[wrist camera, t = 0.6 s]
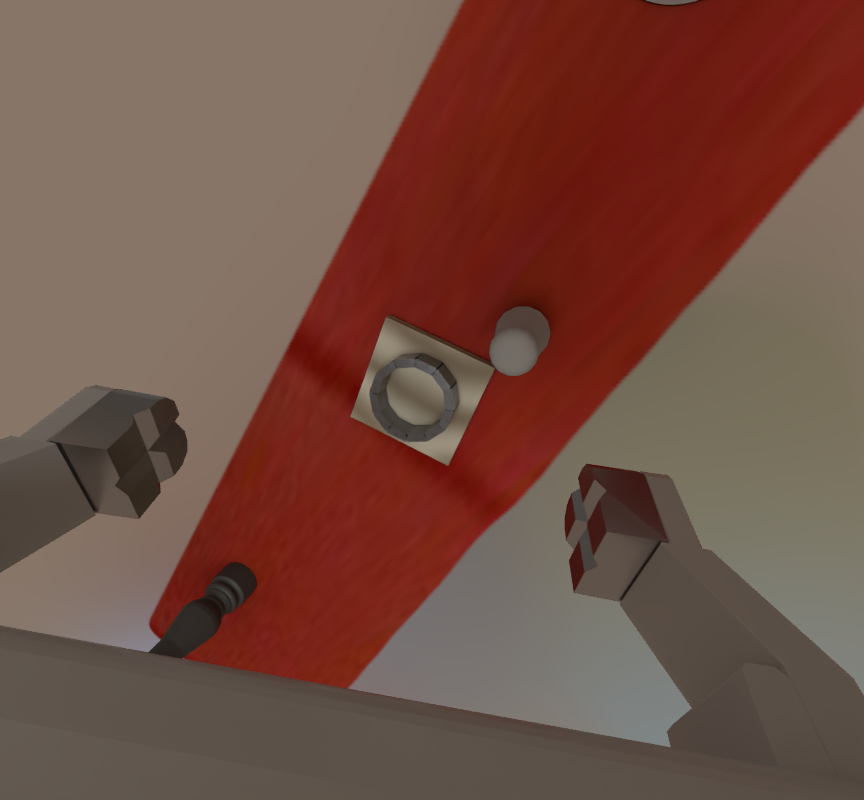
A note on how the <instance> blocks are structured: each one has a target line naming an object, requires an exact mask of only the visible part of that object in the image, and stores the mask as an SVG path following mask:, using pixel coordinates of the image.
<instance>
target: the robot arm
mask: <svg viewBox="0 0 864 800" xmlns="http://www.w3.org/2000/svg"><path fill="white" fill-rule="evenodd" d="M647 1H650V2H653V3H658V4H665V5H676V4H685V3H690V2H694V1H697V0H647ZM178 416H179V412H178V409H177V407H176V404H175V402H174V401H173V400H171V399H169V398H166V397H161V396H155V395H150V394H144V393H138V392H133V391H128V390H122V389H113V388H108V387H103V386H98V385H95V386H90V387H85V388H84V389H83V390H81V391H80V392H79V393H77V394H76V395H75V396H73V397H72V398H71V399H69V400H68V401H67V402H65V403H64V404H63V405H61V406H60V407H59V408H57V409H56V410H55V411H53V412H52V413H51V414H49V415H48V416H47V417H45V418H44V419H43V420H41V421H40V422H39V423H38V424H36V425H35V426H33V427H32V428H31V429H29V430H28V431H27V432H26V433H24V434H23V435H21V436H20V437H15V436H9V437H6V438H3V439H0V572H2V571H4V570H6V569H7V568H9V567H11V566H12V565H14V564H15V563H17V562H19V561H20V560H22V559H24V558H25V557H27V556H29V555H30V554H32V553H34V552H35V551H37V550H38V549H40V548H42V547H44V546H45V545H47V544H49V543H50V542H52V541H54V540H55V539H57V538H59V537H60V536H62V535H64V534H65V533H67V532H69V531H70V530H72V529H74V528H75V527H77V526H79V525H80V524H82V523H84V522H85V521H87V520H88V519H90V518H92V517H93V516H95V515H96V514H95V513H99V514H106V515H114V516H121V517H128V518H135V519H139V518H140V517H141V516H142V515H143V514H144V512H145V511H146V510H147V509H148V507H149V506H150V505H151V504H152V502H153V501H154V500H155V499H156V497H157V496H158V495H159V494H160V493H161V492H160V482H163V481H164V480H167V479H169V478H171V477H173V476H174V475H175V474H176V473H177V471H178V470H179V469H180V467H181V466H182V465H183V462H184V459H185V456H186V454H187V438H186V434H185V431H184V430H183V429H182V428H181V427H180V426H179V425H178V424H177V423H176V422H175V420H176V419H177V417H178ZM578 480H579V485H580V489H578V490H577V491H575V492H573V493H572V494H571V496H570V499H569V501H568V504H567V508H566V514H565V535H566V541H567V542H568V543H569V544H570V545H571V547H572V548H573V549H574V551H573V553H572V555H571V558H570V560H569V563H570V570H571V577H572V583H573V590H574V593H578V594H583V595H588V596H593V597H598V598H603V599H609V600H613V601H619V602H621V603H620V605H621V607H622V608H623V610H624V611H625V613H626V614H627V616H628V617H629V618H630V620H631V621H632V623H633V624H634V626H635V627H636V628H637V630H638V631H639V633H640V634H641V636H642V637H643V639H644V640H645V641H646V643H647V644H648V646H649V647H650V649H651V650H652V651H653V653H654V654H655V656H656V657H657V659H658V660H659V662H660V663H661V664H662V666H663V667H664V669H665V670H666V672H667V673H668V674H669V676H670V677H671V679H672V680H673V682H674V683H675V684H676V686H677V687H678V689H679V690H680V692H681V693H682V694H683V696H684V697H685V699H686V700H687V702H688V703H689V705H690V706H691V707H692V709H691V710H689V711H688V712H687V713H686V714H685V715H683V716H682V717H681V718H680V719H679V720H678V721H676V722H675V723H674V724H673V725H672V726H671V727H670V728H669V730H668V731H667V733H668V737H669V741H670V745H671V747H666V746H660V745H655V744H649V743H643V742H638V741H632V740H627V739H622V738H616V737H611V736H605V735H600V734H594V733H589V732H583V731H578V730H572V729H567V728H561V727H555V726H550V725H544V724H539V723H534V722H528V721H523V720H517V719H512V718H506V717H500V716H495V715H489V714H484V713H479V712H472V711H468V710H462V709H456V708H451V707H446V706H440V705H435V704H429V703H423V702H418V701H412V700H407V699H402V698H396V697H391V696H385V695H379V694H374V693H368V692H363V691H357V690H352V689H347V688H341V687H336V686H330V685H325V684H319V683H314V682H308V681H303V680H297V679H292V678H286V677H281V676H275V675H270V674H264V673H259V672H253V671H248V670H242V669H237V668H231V667H226V666H220V665H215V664H209V663H204V662H198V661H193V660H187V659H181V658H176V657H170V656H165V655H159V654H154V653H148V652H143V651H137V650H132V649H126V648H121V647H115V646H109V645H104V644H99V643H93V642H88V641H82V640H77V639H71V638H66V637H60V636H55V635H49V634H43V633H38V632H32V631H27V630H21V629H16V628H10V627H5V626H0V800H864V696H863V694H862V692H861V690H860V689H859V687H858V685H857V683H856V682H855V680H854V679H853V678H852V677H851V676H850V675H849V674H848V673H847V672H846V671H845V670H843V669H842V668H841V667H840V666H839V665H838V664H836V662H835V661H833V660H832V659H831V658H830V657H829V656H828V655H827V654H826V653H825V652H823V651H822V650H821V649H820V648H819V647H818V646H817V645H816V644H815V643H813V642H812V641H811V640H810V639H809V638H808V637H807V636H806V635H804V634H803V633H802V632H801V631H800V630H799V629H798V628H797V627H796V626H795V625H793V624H792V623H791V622H790V621H789V620H788V619H787V618H786V617H785V616H783V615H782V614H781V613H780V612H779V611H778V610H777V609H776V608H774V607H773V606H772V605H771V604H770V603H769V602H768V601H767V600H766V599H765V598H763V597H762V596H761V595H760V594H759V593H758V592H757V591H756V590H755V589H753V588H752V587H751V586H750V585H749V584H748V583H747V582H746V581H745V580H743V579H742V578H741V577H740V576H739V575H738V574H737V573H736V572H735V571H733V570H732V569H731V568H730V567H729V566H728V565H727V564H726V563H725V562H723V561H722V560H721V559H720V558H719V557H718V556H717V555H716V554H715V553H713V552H712V551H711V550H706V549H702V547H701V544H700V542H699V540H698V538H697V535H696V533H695V530H694V528H693V526H692V524H691V521H690V519H689V517H688V514H687V512H686V510H685V507H684V505H683V503H682V501H681V498H680V496H679V494H678V492H677V489H676V487H675V484H674V482H673V480H672V479H671V478H670V477H669V476H668V475H662V474H655V473H648V472H637V471H632V470H624V469H618V468H612V467H604V466H598V465H591V464H586V465H585V466H584V467H583V468H582V470H581V473H580V475H579V477H578Z"/></svg>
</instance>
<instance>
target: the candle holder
mask: <svg viewBox="0 0 864 800" xmlns="http://www.w3.org/2000/svg"><path fill="white" fill-rule="evenodd" d="M256 586H257V582H256V578H255V576H254V574H253V573H252V571H251V570H250V569H249V568H248V567H246V566H245V565H243V564H240V563H237V562H236V563H230V564H229V565H227V566H226V567H225V568H224V569H223V570H222V571H221V572H220V573H219V574H218V575H217V576H216V577H214V578H213V580H212V582H211V584H210V585H208V586H207V588H206V591H205V595H204V596H203V597H202V598H200V599H197V600H194V601H192V602H190V603H188V604H187V605H185V606H184V607H183V608H182V610H181V611H180V612H179V614H178V615H177V617H176V618H175V620H174V621H173V623H172V624H171V626H170V627H169V629H168V630H167V632H166V633H165V635H164V636H163V637H162V639H161V640H160V642H159V643H158V644H156V646H154V647H153V648H152V649H151V650H150V651H149V652H148V653H154V654H159V655H165V656H170V657H176V658H181V659H182V658H184V657H185V656H186V655H188V654H189V653H191V652H192V651H193V650H195V649H196V648H197V647H199V646H200V645H202V644H203V643H204V642H206V641H207V640H208V639H210V638H211V637H213V636H214V635H215V634H216V632H217V630H218V628H219V626H220V624H221V618H223V615H224V614H229V613H231V612H233V611H234V610H235V609H236V607H238V606H240V605H242V604H243V603H244V601H245V600H246V599H247V598H248V597H249V596H250V595H251V594H252V593H253V591H254V590H255V588H256Z"/></svg>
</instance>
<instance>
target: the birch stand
mask: <svg viewBox="0 0 864 800" xmlns="http://www.w3.org/2000/svg"><path fill="white" fill-rule="evenodd" d="M413 353H425V354H427V355H429V356H431V357H433V358H435V359H437V360H440V361H442V362H443V363H442V364H445V365H446V366H447V368H448V369H449V371H450V372H451V373H452V375H453V376H454V377H455V379H456V380H457V381H456V382H457V384H458V393H459V401H460V402H459V405H458V407H457V409H456V412H455V414H454V416H453V418H452V420H451V422H450V424H449V425H448V427H447V428H446V430H445V431H444V432H442V433H440V434H439V435H437V436H436V437H434V438H432V439H431V440H429V441H427V442H407V440H406V442H405V441H403V440H401V439H399V438H397V437H395V436H393V435H391V434H389V433H387V431H388V430H387V431H385V430H384V428H383V427H382V426H381V424H380V423H379V422H378V420H377V419H376V418H375V417H374V415H373V414H375V413H372V407H371V402H370V396H369V393H370V392H369V391H370V388H371V386H372V383H373V380H374V377H375V375H376V373H377V372H378V371H379V370H381V369H382V368H383V367H385V366H386V365H387V364H389V363H390V362H391V361H393V360H394V359H396V358H397V357H399V356H400V355H402V354H413ZM494 370H495V366H494V365H493V364H492V363H491V362H489V361H487V360H485V359H482V358H480V357H478V356H476V355H474V354H472V353H470V352H468V351H466V350H463V349H461V348H459V347H457V346H455V345H453V344H451V343H449V342H446V341H444V340H442V339H440V338H438V337H436V336H434V335H432V334H429V333H427V332H425V331H423V330H421V329H419V328H417V327H415V326H413V325H410V324H408V323H406V322H404V321H402V320H400V319H398V318H396V317H393V316H391V315H390V316H387V317H386V319H385V321H384V324H383V327H382V330H381V333H380V336H379V338H378V341H377V344H376V347H375V350H374V352H373V355H372V358H371V361H370V364H369V366H368V369H367V372H366V375H365V378H364V381H363V383H362V386H361V389H360V392H359V395H358V397H357V400H356V403H355V406H354V409H353V411H352V414H351V417H353V418H355V419H357V420H359V421H361V422H363V423H365V424H367V425H369V426H371V427H373V428H375V429H377V430H379V431H380V432H382V433H384V434H386V435H388V436H390V437H392V438H394V439H396V440H398V441H400V442H402V443H404V444H406V445H408V446H410V447H412V448H414V449H416V450H418V451H420V452H422V453H424V454H426V455H428V456H430V457H432V458H434V459H436V460H438V461H440V462H442V463H444V464H446V465H449V463H450V461H451V459H452V457H453V455H454V453H455V451H456V448H457V446H458V444H459V442H460V440H461V438H462V436H463V434H464V432H465V430H466V428H467V426H468V424H469V422H470V419H471V417H472V415H473V413H474V411H475V409H476V407H477V405H478V403H479V401H480V399H481V397H482V395H483V393H484V391H485V388H486V386H487V384H488V382H489V380H490V378H491V376H492V374H493V372H494ZM386 389H387V395H388V401H389V404H390V406H391V407H392V408H393V410H394V411H395V412H396V414H397V415H398V416H399V418H401V419H403V420H405V421H407V422H409V423H411V424H413V425H431V424H433V423H434V422H436V421H437V420H439V419H440V418H442V415H443V413H444V411H445V403H444V395H443V390H442V389H441V388H440V386H439V385H438V383H437V382H436V381H435V379H434V378H433V377H432V375H430V374H427V373H425V372H423V371H421V370H419V369H417V368H415V367H412V368H397V369H395V370H394V371H393V372H392V373H391V376H390V379H389V381H388V384H387V386H386Z"/></svg>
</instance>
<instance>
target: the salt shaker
mask: <svg viewBox="0 0 864 800" xmlns="http://www.w3.org/2000/svg"><path fill="white" fill-rule="evenodd" d="M550 334H551V333H550V329H549V324H548V321H547V320H546V318H545V317H544V316H543V315H542V313H541V312H540V311H538V310H535V309H533V308H531V307H528V306H525V307H514V308H513V309H511V310H509V311H507V312H505V313H504V314H503V315H502V317H501V318H500V319H499V321H498V322H497V325H496V330H495V337H494V338H493V340H492V341H491V345H490V350H489V354H490V358H491V362H492V364H493V365H494V366H495V368H496V369H497V370H498V371H499V372H501V373H503V374H506V375H508V376H519V375H521V374H524V373H526V372H528V371H530V370H531V368H532V367H533V366H534V365H535V363H536V362H537V359H538V355H540V354H541V352H542V351H543V350H544V349H545V347H546V346H547V345H548V341H549V337H550Z"/></svg>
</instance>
